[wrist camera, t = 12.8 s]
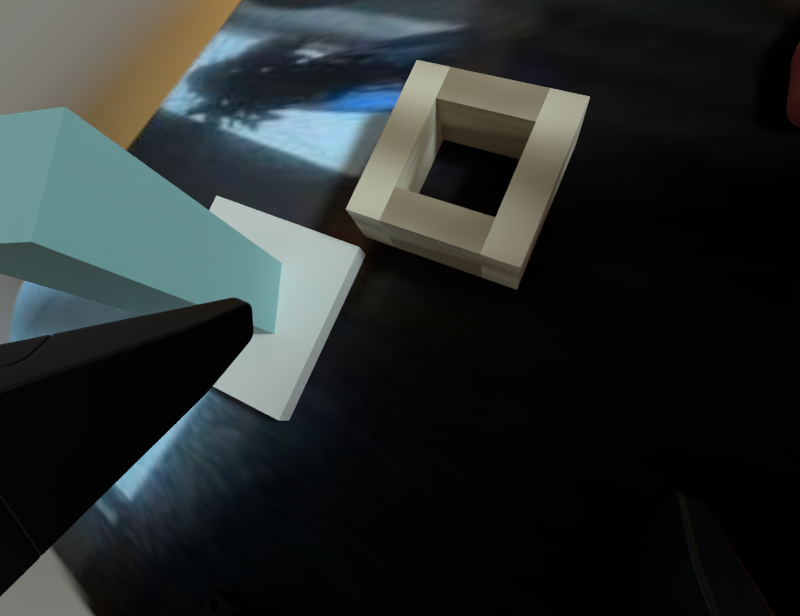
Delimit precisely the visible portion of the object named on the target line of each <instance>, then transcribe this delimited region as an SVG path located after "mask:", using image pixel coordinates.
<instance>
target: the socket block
mask: <svg viewBox="0 0 800 616" xmlns="http://www.w3.org/2000/svg"><path fill="white" fill-rule="evenodd" d="M589 99H590V97H589V96H584V95H580V94H575V93H570V92H566V91H561V90H556V89H551V88H547V87H542V86H537V85H533V84H528V83H523V82H518V81H514V80H509V79H504V78H499V77H495V76H490V75H485V74H481V73H476V72H471V71H466V70H462V69H457V68H452V67H448V66H443V65H438V64H433V63H429V62H424V61H419V60H417V61H416V63H415V65H414V67H413V69H412V71H411V73H410V75H409V78H408V80H407V82H406V84H405V86H404V88H403V90H402V92H401V94H400V96H399V98H398V101H397V103H396V105H395V107H394V109H393V111H392V113H391V115H390V117H389V119H388V122H387V124H386V126H385V128H384V130H383V132H382V134H381V136H380V138H379V140H378V142H377V145H376V147H375V149H374V151H373V153H372V155H371V157H370V159H369V161H368V163H367V166H366V168H365V170H364V172H363V174H362V176H361V178H360V180H359V182H358V184H357V186H356V189H355V191H354V193H353V195H352V197H351V199H350V201H349V203H348V205H347V207H346V210H347V212H348V213H349V215H350V216H351V217H352V219H353V220H354V221H355V223H356V224H357V226H358V227H359V228H360V230H361V231H362V233H363V234H364V235H365V237H368V238H371V239H374V240H376V241H379V242H382V243H385V244H388V245H391V246H393V247H396V248H399V249H402V250H405V251H408V252H411V253H413V254H416V255H419V256H422V257H425V258H428V259H431V260H433V261H436V262H439V263H442V264H445V265H448V266H451V267H453V268H456V269H459V270H462V271H465V272H468V273H470V274H473V275H476V276H479V277H482V278H485V279H488V280H490V281H493V282H496V283H499V284H502V285H505V286H508V287H510V288H513V289H516V290H517V288H518V286H519V283H520V281H521V278H522V276H523V274H524V271H525V269H526V266H527V264H528V261H529V259H530V256H531V254H532V251H533V249H534V246H535V244H536V241H537V239H538V236H539V234H540V231H541V229H542V226H543V224H544V221H545V219H546V216H547V214H548V212H549V209H550V207H551V204H552V202H553V199H554V197H555V194H556V192H557V189H558V187H559V184H560V182H561V179H562V177H563V174H564V172H565V169H566V167H567V164H568V162H569V159H570V157H571V154H572V152H573V150H574V147H575V145H576V142H577V139H578V136H579V132H580V129H581V126H582V122H583V119H584V115H585V112H586V109H587V105H588V102H589ZM443 139H444V140H447V141H451V142H455V143H459V144H463V145H466V146H470V147H474V148H478V149H482V150H485V151H489V152H493V153H497V154H501V155H504V156H508V157H512V158H516V159H520V161H519V163H518V165H517V168H516V170H515V173H514V175H513V177H512V180H511V182H510V184H509V187H508V189H507V192H506V194H505V196H504V199H503V201H502V203H501V206H500V208H499V211H498V213H497V215H496V217H492V216H489V215H486V214H483V213H479V212H476V211H473V210H470V209H466V208H463V207H460V206H457V205H453V204H450V203H447V202H444V201H440V200H437V199H434V198H431V197H427V196H424V195H421V194H419V192H420V190H421V188H422V186H423V184H424V181H425V179H426V177H427V175H428V173H429V170H430V168H431V166H432V164H433V162H434V159H435V157H436V155H437V153H438V151H439V148H440V146H441V144H442V142H443Z"/></svg>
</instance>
